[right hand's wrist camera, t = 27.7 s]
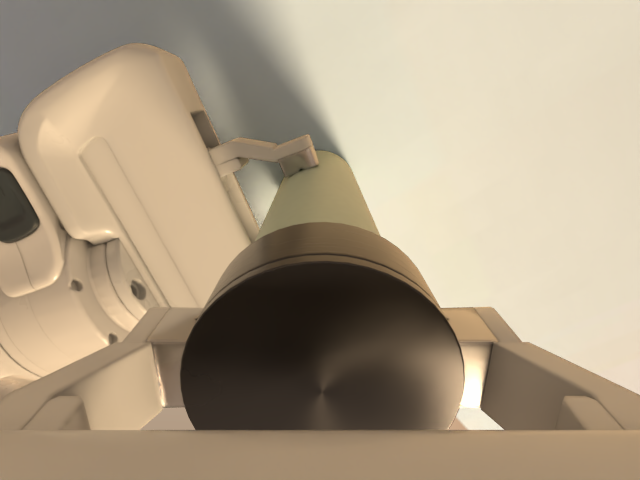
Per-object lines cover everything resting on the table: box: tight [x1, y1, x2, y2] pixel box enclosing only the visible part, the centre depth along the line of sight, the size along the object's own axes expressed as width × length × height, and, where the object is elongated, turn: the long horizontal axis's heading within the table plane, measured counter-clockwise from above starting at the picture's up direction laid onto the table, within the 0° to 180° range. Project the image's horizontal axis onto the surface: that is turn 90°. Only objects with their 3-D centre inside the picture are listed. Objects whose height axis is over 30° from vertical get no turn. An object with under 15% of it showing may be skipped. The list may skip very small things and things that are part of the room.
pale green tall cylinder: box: [255, 150, 380, 241], centre depth 17 cm, size 5×5×18 cm
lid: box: [180, 222, 465, 430], centre depth 9 cm, size 6×6×2 cm
